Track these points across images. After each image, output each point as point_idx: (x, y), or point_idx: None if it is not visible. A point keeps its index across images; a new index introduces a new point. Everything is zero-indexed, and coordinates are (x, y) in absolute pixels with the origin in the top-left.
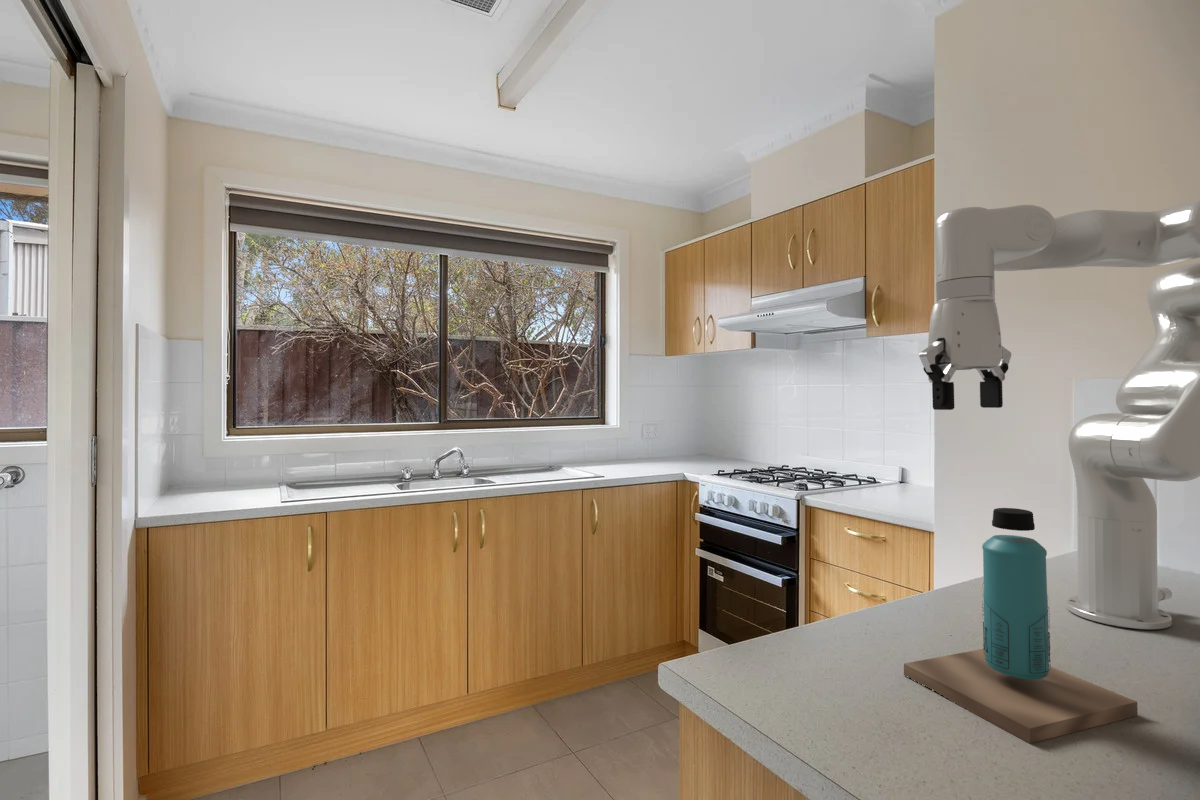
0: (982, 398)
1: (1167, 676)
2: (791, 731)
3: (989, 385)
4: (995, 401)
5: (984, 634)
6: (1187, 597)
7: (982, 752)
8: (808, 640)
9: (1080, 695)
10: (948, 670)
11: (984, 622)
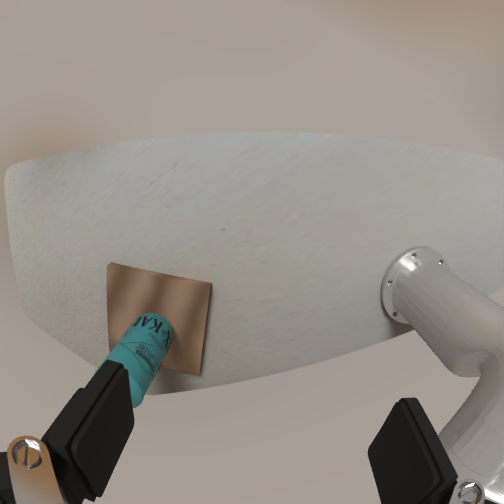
0: (404, 431)
1: (290, 360)
2: (22, 271)
3: (404, 496)
4: (374, 459)
5: (133, 324)
6: (496, 289)
7: (86, 337)
8: (95, 171)
9: (174, 355)
10: (126, 291)
11: (126, 331)
